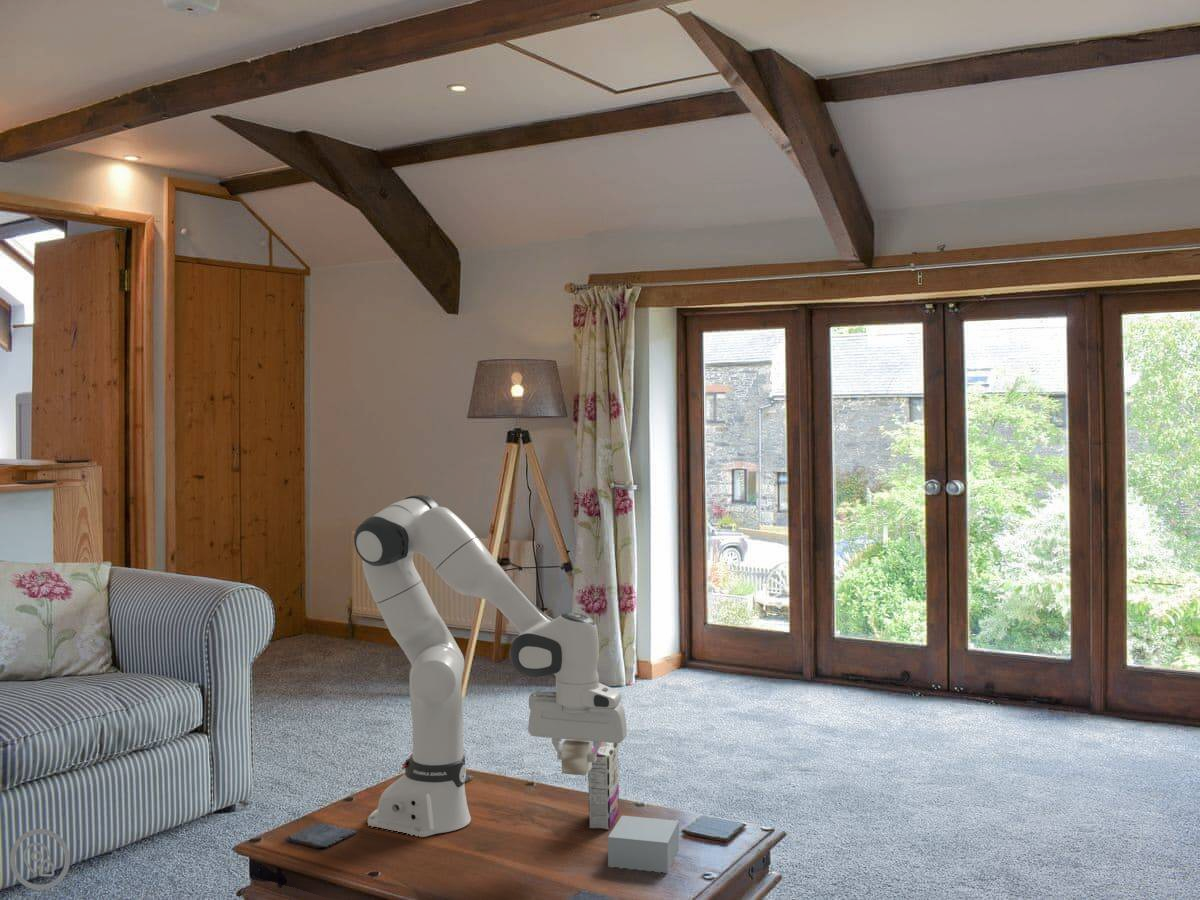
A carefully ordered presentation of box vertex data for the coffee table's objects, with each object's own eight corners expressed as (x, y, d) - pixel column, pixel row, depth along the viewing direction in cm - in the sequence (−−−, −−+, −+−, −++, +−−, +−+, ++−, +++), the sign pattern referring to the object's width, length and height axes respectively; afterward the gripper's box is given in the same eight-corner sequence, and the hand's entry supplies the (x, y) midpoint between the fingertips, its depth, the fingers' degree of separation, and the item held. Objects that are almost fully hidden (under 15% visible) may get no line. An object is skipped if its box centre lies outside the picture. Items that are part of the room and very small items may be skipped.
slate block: (608, 866, 215) (608, 836, 215) (621, 843, 227) (622, 815, 227) (667, 873, 212) (667, 842, 212) (678, 849, 224) (678, 820, 224)
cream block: (561, 773, 221) (561, 744, 221) (568, 765, 226) (568, 737, 225) (585, 775, 219) (585, 746, 219) (591, 767, 224) (591, 739, 224)
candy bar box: (597, 810, 246) (597, 738, 246) (619, 812, 245) (619, 740, 245) (587, 828, 235) (587, 753, 235) (609, 830, 234) (609, 755, 234)
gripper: (524, 693, 222) (523, 760, 222) (621, 700, 216) (621, 769, 217) (533, 686, 228) (533, 751, 228) (628, 692, 223) (628, 759, 223)
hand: (576, 760), depth 222 cm, fingers closed on cream block, 5 cm apart
